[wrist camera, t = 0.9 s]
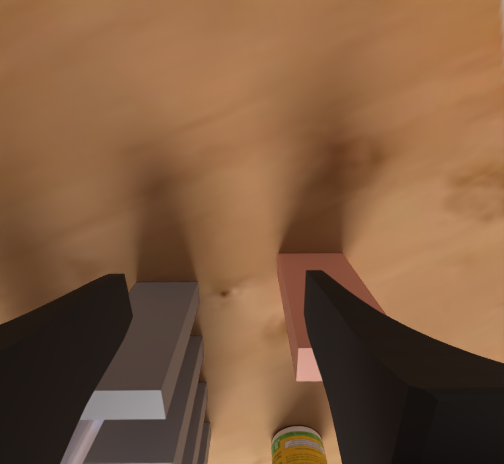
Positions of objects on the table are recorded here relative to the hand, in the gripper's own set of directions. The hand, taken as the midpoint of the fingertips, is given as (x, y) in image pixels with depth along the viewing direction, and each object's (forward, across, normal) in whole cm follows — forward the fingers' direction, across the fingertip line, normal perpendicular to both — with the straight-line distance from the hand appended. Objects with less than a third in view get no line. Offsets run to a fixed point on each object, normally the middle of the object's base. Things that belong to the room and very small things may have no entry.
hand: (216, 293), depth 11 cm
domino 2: (+10, +6, +12) cm, 17 cm away
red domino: (+10, -6, +4) cm, 13 cm away
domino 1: (+10, +6, +7) cm, 14 cm away
